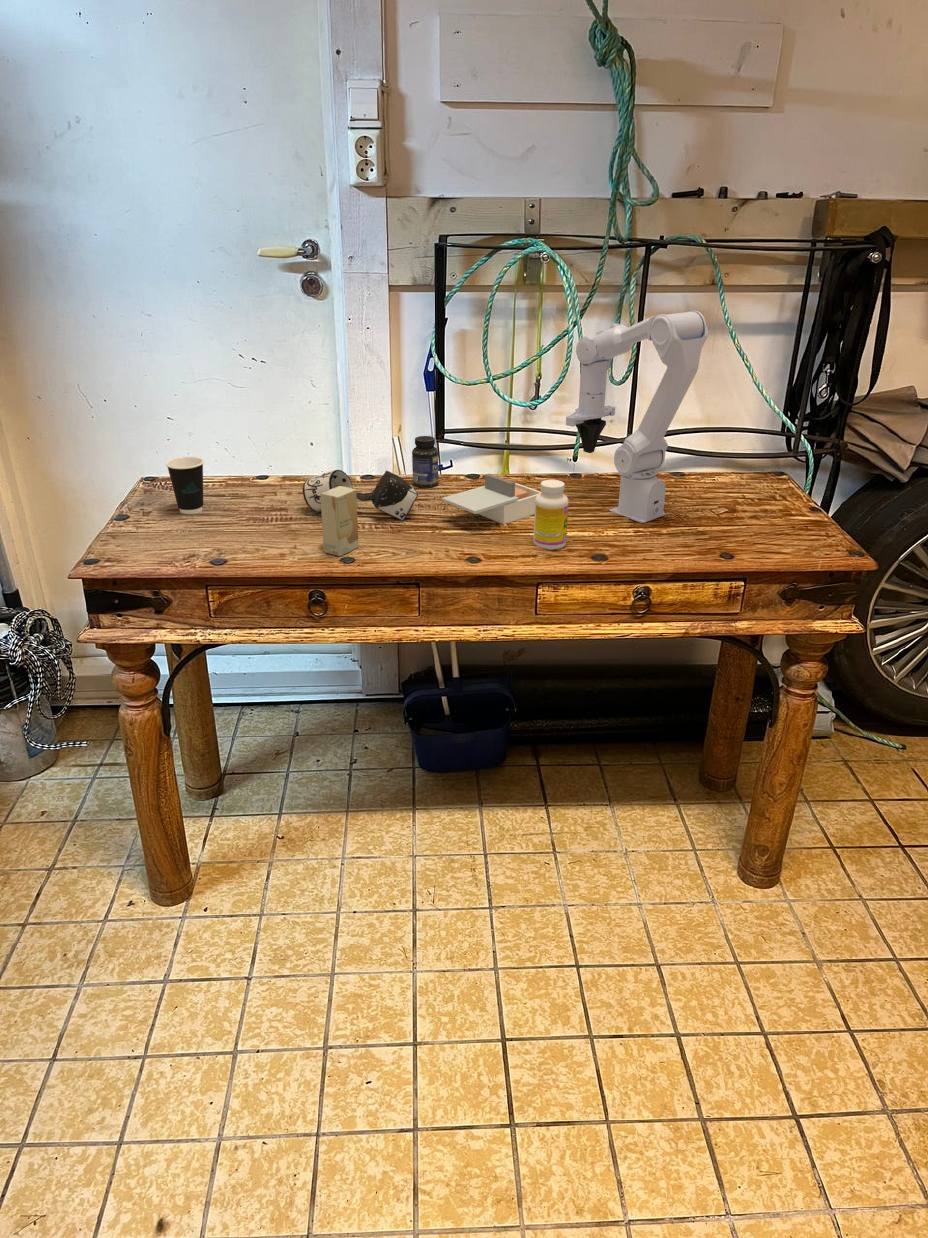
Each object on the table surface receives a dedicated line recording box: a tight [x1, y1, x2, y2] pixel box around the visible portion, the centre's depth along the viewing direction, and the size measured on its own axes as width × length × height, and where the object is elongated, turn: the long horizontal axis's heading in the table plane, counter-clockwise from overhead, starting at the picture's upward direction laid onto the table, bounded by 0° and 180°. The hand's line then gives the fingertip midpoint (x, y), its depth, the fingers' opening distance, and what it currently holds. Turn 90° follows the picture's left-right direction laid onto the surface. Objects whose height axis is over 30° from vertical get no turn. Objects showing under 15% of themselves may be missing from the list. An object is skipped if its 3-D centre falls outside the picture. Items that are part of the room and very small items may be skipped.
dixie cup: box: [165, 456, 205, 515], centre depth 204 cm, size 8×8×11 cm
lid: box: [441, 473, 519, 515], centre depth 198 cm, size 12×10×4 cm
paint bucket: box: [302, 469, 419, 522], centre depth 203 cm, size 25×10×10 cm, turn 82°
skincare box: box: [320, 486, 359, 557], centre depth 185 cm, size 6×4×12 cm
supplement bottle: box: [532, 479, 569, 551], centre depth 187 cm, size 7×7×13 cm
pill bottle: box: [411, 435, 440, 489], centre depth 221 cm, size 6×6×11 cm
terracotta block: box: [515, 488, 528, 500], centre depth 206 cm, size 4×4×4 cm
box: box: [477, 482, 541, 525], centre depth 205 cm, size 12×10×5 cm
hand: (588, 451), depth 214 cm, fingers closed
